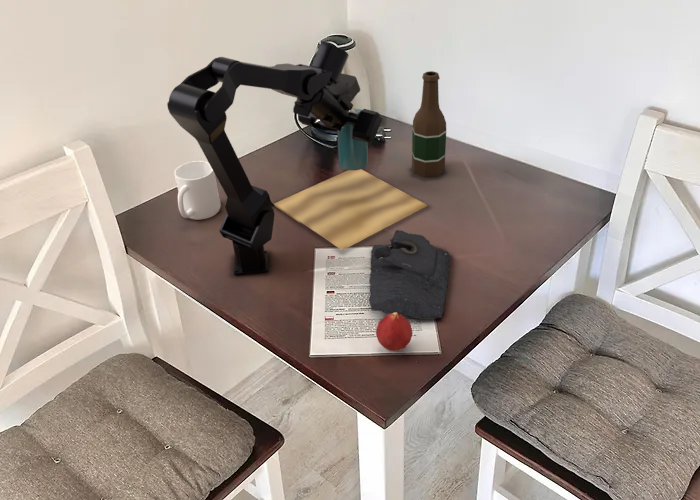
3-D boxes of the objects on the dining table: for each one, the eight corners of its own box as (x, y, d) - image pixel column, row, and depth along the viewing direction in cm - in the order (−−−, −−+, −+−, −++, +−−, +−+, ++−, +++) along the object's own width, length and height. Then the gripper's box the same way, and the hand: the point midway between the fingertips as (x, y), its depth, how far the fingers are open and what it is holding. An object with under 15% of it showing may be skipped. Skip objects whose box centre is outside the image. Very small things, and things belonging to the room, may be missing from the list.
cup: (227, 202, 148) (220, 162, 142) (202, 232, 139) (193, 191, 133) (194, 198, 150) (186, 158, 144) (167, 227, 141) (157, 186, 135)
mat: (428, 207, 143) (428, 205, 142) (342, 252, 131) (342, 250, 131) (356, 168, 158) (356, 166, 158) (274, 205, 146) (273, 203, 146)
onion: (369, 351, 108) (368, 315, 104) (389, 332, 112) (389, 296, 107) (398, 366, 105) (399, 330, 101) (418, 346, 109) (419, 309, 104)
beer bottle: (408, 177, 154) (409, 78, 139) (415, 161, 160) (417, 65, 145) (441, 181, 152) (445, 81, 137) (447, 165, 158) (452, 68, 143)
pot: (374, 166, 146) (373, 111, 139) (346, 174, 144) (343, 118, 136) (360, 153, 152) (358, 100, 144) (332, 160, 149) (329, 106, 142)
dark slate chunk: (356, 317, 115) (355, 297, 112) (374, 244, 133) (373, 225, 130) (444, 325, 113) (445, 304, 110) (451, 249, 130) (452, 230, 127)
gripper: (376, 75, 127) (406, 109, 140) (301, 58, 136) (336, 91, 150) (354, 128, 126) (386, 156, 140) (280, 107, 136) (317, 136, 149)
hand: (356, 133), depth 145 cm, fingers closed on pot, 6 cm apart
